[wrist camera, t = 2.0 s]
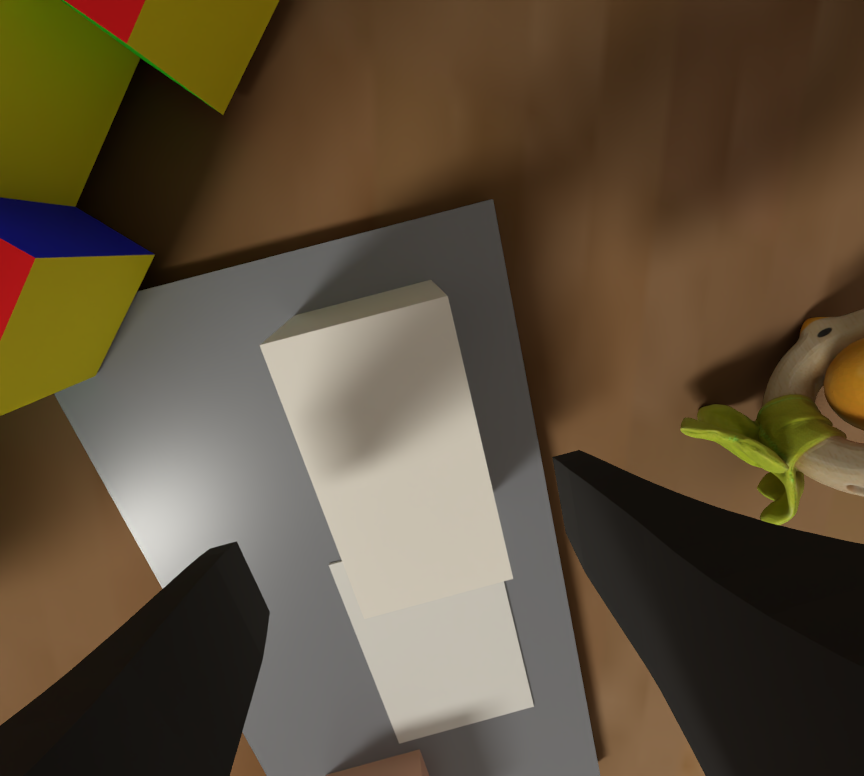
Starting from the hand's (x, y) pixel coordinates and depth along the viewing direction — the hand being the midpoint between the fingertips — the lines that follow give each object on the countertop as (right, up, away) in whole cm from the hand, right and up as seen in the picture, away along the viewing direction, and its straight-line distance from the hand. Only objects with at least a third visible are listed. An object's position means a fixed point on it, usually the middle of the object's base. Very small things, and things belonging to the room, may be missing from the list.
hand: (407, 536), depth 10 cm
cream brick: (-1, +2, +7) cm, 7 cm away
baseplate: (-2, -6, +10) cm, 12 cm away
